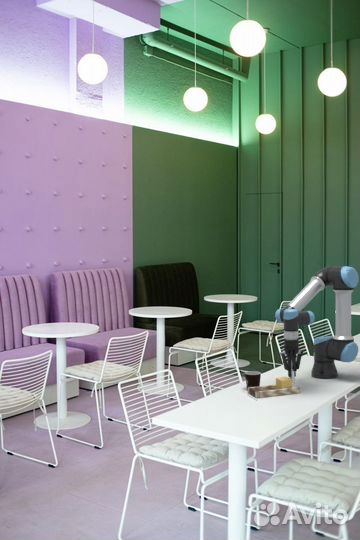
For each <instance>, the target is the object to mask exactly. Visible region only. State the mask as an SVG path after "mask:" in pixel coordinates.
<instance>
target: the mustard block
mask: <svg viewBox="0 0 360 540" xmlns="http://www.w3.org/2000/svg"><path fill="white" fill-rule="evenodd" d="M275 384H276V389H284V388H293V384H292V379H290V377H288V376H282V377H280V376H279V377H275Z"/></svg>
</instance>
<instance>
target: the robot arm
mask: <svg viewBox="0 0 360 540" xmlns="http://www.w3.org/2000/svg"><path fill="white" fill-rule="evenodd" d="M359 280H360V279H359V273H358V271H357V270H356V269H355V267H352V266H346V265H345V266H342V265H341V266H340V265H336V266H335V265H328V266H326V267H323V268H322V269H320V270H318V271H317V272H315V274H313V276H312V277H311V278H310V281H309V282H308V283H307V284H306V285H305V286H304V287H303V288H302V289H301V291H299V293H297V294H296V295H295V297H294V298H293V299H292V300H291V301H290V302H289V303H288V304H287V305H286V306H285V307H284V308H278V309H277V310H276V311H275V314H274V318H275V320H276V321H277V322H278V323H282V324H283V338H284V340H283V347H284V348H283V351H282V352H281V351H280V352H279V355H280V356H281V360H282V364H283V367H284V370H286V371H287V377H288V378H290V379H292V385H293V384H295V379H296V375H297V371H298V370H300V367H301V366H300V365H301V361H302V357H303V355H304V351H303V350H301V349H300V347H299V345H300V344H299V343H300V342H299V327H303V326H310V325H312V324H314V322H315V314H314V312H313V311H311V310H303V309H304V308H305V307H306V306H307V305H308V304H309V303H310V302H311V301H312V300H313V299H314V298H315V297H316V295H318V294H319V292H320V291H324V289H326V288H328V287H332V291H333V292H334V293H335V335H334V336H333V335H326V336H318V337H315V338H314V339H313V366H312V369H311V370H310V371H311V373H310V374H311V377H313V378H316V379H334V378H337V377H338V376H339V371H338V370H337V369H338V368H337V366H336V364H335V361H337V362H341V363H352V362H354V361H355V360H356V358H357V357H358V353H359V345H358V344H357V343H356V342H355V338H354V336H353V335H352V293H353V292H354V291H355V288H356V287H357V286H358V284H359Z"/></svg>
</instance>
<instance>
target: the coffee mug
mask: <svg viewBox="0 0 360 540" xmlns="http://www.w3.org/2000/svg"><path fill="white" fill-rule="evenodd" d="M261 375H262V373H261V372H260V371H256V370H250V371H245V372H244V376H245V384H246V385H245V386H246V390H247V391H248V388H249V387H258V386H261V378H262V377H261Z"/></svg>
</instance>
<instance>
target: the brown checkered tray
mask: <svg viewBox="0 0 360 540" xmlns="http://www.w3.org/2000/svg"><path fill="white" fill-rule="evenodd" d="M299 394H301V387H300V386H295V387H294V386H292V388H284V389H276V383H275V384H269V385H260V386H258V387H249V388H248V390H247V395H249V396H250V398H251V399H253V398H254V399H255V401H258V400H257V399H264V398H265V399H267V398H274V397H283V396H291V395H299Z"/></svg>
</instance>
